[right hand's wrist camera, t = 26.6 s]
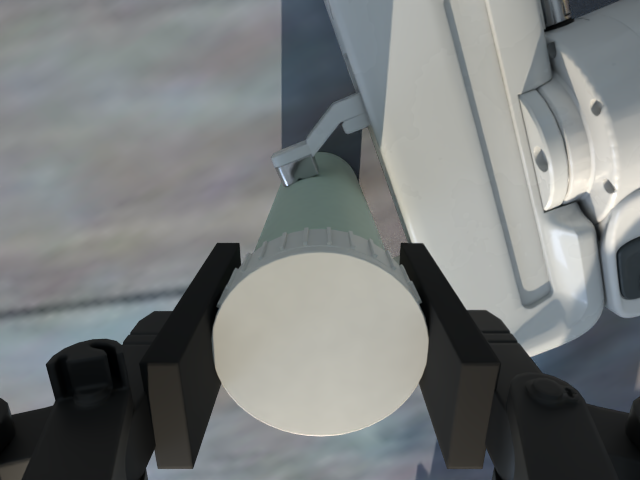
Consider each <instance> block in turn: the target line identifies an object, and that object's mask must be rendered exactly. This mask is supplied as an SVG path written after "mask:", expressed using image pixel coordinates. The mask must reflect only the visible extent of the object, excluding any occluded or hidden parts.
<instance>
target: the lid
mask: <svg viewBox="0 0 640 480" xmlns="http://www.w3.org/2000/svg"><path fill="white" fill-rule="evenodd" d="M420 303H422V301H421V299H420V297H419V295H418V292H417V290H416V288H415V286H414V284H413V282H412V281H410V279H409V277H408V275H407V273H406V271H405V268H404V266H403V265H402V264H401V265H400V266H399V265H398V263H397V262H396V261H395V260H394V259H393V258H392V255H391V253H390V251H388V250H386V251H384V250H383V249H382V248H380V247H379V246H377V245H376V244H374V242H373V240H372V239H370V238H369V240H366V239H364V238H362V237H360V236H357V235H354V234H353V231H349V232H343V231H338V230H331V227H327V229H309V228H308V227H306V228H304V230H302V231H297V232H292V233H289V234H287V232H284V233H283V234H282V236H280V237H278V238H276V239H274V240H272V241H269V242H267V241H265V242H263V244H262V247H260V248H258V249H257V250H256V251H255V252H254V253H252V254H250V253H248V254H247V256H246V258H245V260H244V262H243V264H242V265H241V266H240V267H239V269H237V268H235V269H234V271H233V273H232V276H231V278H230V280H229V282H228V284H227V285H226V287H225V289H224V291H223V293H222V295H221V297H220V299H219V302H218V304H217V306H216V307H218V308H219V309H218V312H217V314H216V317H215V320H214V324H213V328H212V335H211V341H212V351H213V360H214V366H215V369H216V372H217V375H218V377H219V379H220V381H221V383H222V385H223V386H224V388H225V389H226V391H227V392H228V394H229V395H230V396H231V397H232V398H233V399H234V401H235V402H236V403H237V404H238V405H239V406H240V407H242V408H243V409H244V410H245V411H246V412H247V413H249V414H250V415H252V416H253V417H255V418H256V419H258V420H260V421H262V422H264V423H265V424H267V425H269V426H272V427H275V428H277V429H280V430H283V431H287V432H290V433H294V434H301V435H308V436H333V435H339V434H346V433H350V432H354V431H357V430H360V429H363V428H366V427H368V426H371V425H373V424H375V423H377V422H379V421H381V420H382V419H384V418H385V417H387V416H388V415H390V414H391V413H393V412H394V411H395V410H396V409H397V408H399V407H400V406H401V405H402V404H403V403H404V402H405V401H406V400H407V399H408V397H409V396H410V395H411V394H412V392H413V391H414V389H415V388H416V387H417V385H418V383H419V381H420V379H421V377H422V375H423V372H424V369H425V366H426V362H427V354H428V344H429V334H428V327H427V323H426V318H425V316H424V313H423V311H422V309H421V307H420V305H419V304H420Z"/></svg>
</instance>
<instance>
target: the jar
mask: <svg viewBox="0 0 640 480" xmlns="http://www.w3.org/2000/svg"><path fill="white" fill-rule="evenodd" d="M314 156H315V159H316V162H317V164H318V167H319V170H318V171H319V173H318V175H315V176H313V177H310V178H306V179H301V178H299V179H298V181H297V182H296V183H294V184H292V185H290V186H286V187H284V186H283V184H282V182H281V185H280V187H279V190H278V193H277V195H276V198H275V200H274V203H273V205H272V208H271V210H270V213H269V215H268V218H267V220H266V223H265V225H264V228H263V231H262V233H261V236H260V238H259V241H258V243H257V246H256V248H255V251H256V250H257V249H258V248H260V247H262V244H263V242H265V241H267V242H269V241H272V240H274V239H276V238H278V237H280V236H282V234H283V233H284V232H287V234H289V233H292V232H297V231H302V230H304V228H306V227H308V228H309V229H327V227H331V230H338V231H343V232H349V231H353V234H354V235H357V236H360V237H362V238H364V239H366V240H369V238H370V239H372V240H373V242H374V244H376V245H377V246H379V247H380V248H382V249H383V250H384V251H385V248H384V245H383V243H382V240H381V238H380V235H379V233H378V230H377V228H376V225H375V223H374V220H373V218H372V215H371V213H370V210H369V208H368V205H367V203H366V200H365V197H364V195H363V192H362V190H361V187H360V185H359V182H358V180H357V177H356V175H355V173H354V171H353V169H352V168H351V167H350V165H349V164H348V163H347V162H346V161H345V160H343V159H342V158H340V157H338V156H336V155H334V154H331V153H327V152H317V153H316V154H315V155H314ZM255 251H254V252H255Z"/></svg>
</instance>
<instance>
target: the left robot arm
mask: <svg viewBox="0 0 640 480" xmlns="http://www.w3.org/2000/svg"><path fill="white" fill-rule="evenodd" d="M324 3H325V6H326V9H327V12H328V15H329V17H330V20H331V23H332V26H333V29H334V32H335V35H336V38H337V40H338V43H339V46H340V49H341V52H342V55H343V58H344V61H345V63H346V66H347V69H348V72H349V75H350V78H351V81H352V84H353V86H354V89H355V92H356V93H354V94H352V95H350V96H347V97H345V98H343V99H340V100H338V101H336V102H333V103H332V104H331V105H330V107H329V108H328V109H327V111H326V112H325V113H324V115H323V116H322V117H321V119H320V120H319V121H318V122H317V124H316V125H315V126H314V128H313V129H312V130H311V132H310V133H309V134H308V136H307V138H306V140H304V141H301V142H299V143H296V144H294V145H291V146H289V147H287V148H284V149H282V150H280V151H278V152H276V153H274V154H273V155H272V156H271V160H272V162H273V165H274V167H275V169H276V171H277V173H278V175H279V178H280V180H281V182H282V184H283V186H284V187H286V186H290V185H292V184H294V183H296V182H297V181H298V179H299V178H301V179H306V178H310V177H313V176H315V175H318V173H319V171H318V170H319V167H318V164H317V162H316V159H315V156H314V155H315V154H316V153H317V151H318V150H319V149H320V148H321V146H322V145H323V144H324V143H325V141H326V140H327V139H328V138H329V136H330V135H331V134H332V133H333V131H334V130H335V129H336V127H337V126H338V125H339V124H340V123H341V125H342V128H343V130H344V132H345V133H347V134H350V133H353V132H356V131H358V130H361V129H363V128H366V127H368V130H369V132H370V135H371V138H372V141H373V144H374V147H375V150H376V153H377V156H378V158H379V161H380V164H381V167H382V170H383V173H384V176H385V179H386V181H387V184H388V187H389V190H390V193H391V196H392V199H393V202H394V204H395V207H396V210H397V213H398V216H399V219H400V222H401V225H402V227H403V230H404V233H405V236H406V239H407V242H408V243H423V244H424V245H425V247H426V248H427V250H428V251H429V253H430V254H431V256H432V257H433V259H434V260H435V262H436V264H437V265H438V267H439V268H440V270H441V271H442V273H443V274H444V276H445V277H446V279H447V280H448V282H449V284H450V285H451V287H452V288H453V290H454V291H455V293H456V294H457V296H458V297H459V299H460V300H461V302H462V303H463V305H464V307H465V308H466V310H487V311H489V312H490V313H492V314H493V315H495V316H496V317H498V318H499V319H501V320H502V321H503V323H504V324H505V325H506V327H507V328H508V329H509V330H510V334H513V336H514V337H515V338H516V339H517V342H518V343H520V345H521V346H522V347H523V349H524V350H525V351H526V352H527V354H528V355H529V356H530V357H532V356H535V355H537V354H540V353H543V352H546V351H548V350H551V349H553V348H556V347H558V346H561V345H563V344H566V343H568V342H570V341H572V340H574V339H576V338H578V337H580V336H581V335H583V334H584V333H586V332H587V331H588V330H590V329H591V328H592V327H593V326H594V325H595V323H596V322H597V321H598V319H599V318H600V316H601V314H602V311H603V308H604V307H606V308H607V309H609V310H610V311H612V312H613V313H615V314H617V315H618V316H620V317H623V318H632V317H637V316H640V0H619V1H617V2H615V3H612V4H610V5H607V6H605V7H603V8H600V9H598V10H595V11H593V12H590V13H588V14H586V15H583V16H580V17H578V18H575V19H572V18H571V13H570V7H569V1H568V0H324ZM393 259H394V260H395V261H396V262H397V263H398V265H399V262H400V256H397V257H395V258H393Z"/></svg>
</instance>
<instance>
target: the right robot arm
mask: <svg viewBox="0 0 640 480" xmlns="http://www.w3.org/2000/svg"><path fill="white" fill-rule="evenodd" d="M401 264H402V265H403V266H404V268H405V271H406V273H407V275H408V277H409V279H410V281H412V282H413V284H414V286H415V288H416V290H417V292H418V295H419V297H420V299H421V301H422V303H420V304H419V305H420V307H421V309H422V311H423V313H424V316H425V318H426V323H427V327H428V334H429V344H428V354H427V362H426V366H425V369H424V372H423V375H422V377H421V379H420V381H419V385H420V388H421V391H422V394H423V397H424V400H425V403H426V406H427V409H428V412H429V415H430V418H431V421H432V424H433V427H434V430H435V433H436V436H437V439H438V442H439V445H440V448H441V451H442V454H443V457H444V460H445V463H446V466H447V469H482V468H483V462H484V457H485V451H486V449H487V451H488V453H489V455H490V458H491V460H492V462H493V464H494V471H493V477H492V480H640V397H638V398H637V399H636V400H634V401H633V404H632V407H631V410H630V413H626V412H621V411H616V410H612V409H607V408H602V407H597V406H594V405H590V404H586V402H585V400H584V399H583V397H582V396H581V394H580V393H579V392H578V391H577V390H576V389H575V388H573V387H572V386H571V385H570V384H568V383H567V382H565V381H563V380H560V379H558V378H556V377H554V376H551V375H547V374H543V373H542V372H541V371H540V369H539V368H538V367H537V365H536V364H535V363H534V362H533V360H532V359H531V358H530V356H529V355H528V354H527V352H526V351H525V350H524V349H523V347H522V346H521V345H520V343H518V342H517V339H516V338H515V337H514V336H513V334H510V330H509V329H508V328H507V327H506V325H505V324H504V323H503V321H502V320H501V319H499V318H498V317H496V316H495V315H493V314H492V313H490V312H489V311H487V310H466V308H465V307H464V305H463V303H462V302H461V300H460V299H459V297H458V296H457V294H456V293H455V291H454V290H453V288H452V287H451V285H450V284H449V282H448V280H447V279H446V277H445V276H444V274H443V273H442V271H441V270H440V268H439V267H438V265H437V264H436V262H435V260H434V259H433V257H432V256H431V254H430V253H429V251H428V250H427V248H426V247H425V245H424V244H423V243H401V248H400V262H399V266H400V265H401ZM240 266H241V259H240V245H239V243H217V244H216V246H215V247H214V249H213V250H212V252H211V253H210V255H209V256H208V258H207V259H206V261H205V262H204V264H203V265H202V267H201V269H200V270H199V272H198V273H197V275H196V276H195V278H194V279H193V281H192V282H191V284H190V285H189V287H188V289H187V290H186V292H185V293H184V295H183V296H182V298H181V299H180V301H179V302H178V304H177V305H176V307H175V309H174V310H173V311H154V312H152V313H151V314H149V315H148V316H146V317H145V318H143V319H142V320H140V321H139V322H138V323H137V325H136V326H135V327H134V329H133V330H132V331H131V333H130V335H128V336H127V338H126V339H125V340H124V342H123V345H121V344H119V343H118V342H117V341H114V340H109V339H92V340H88V341H84V342H79V343H76V344H74V345H72V346H69V347H67V348H64V349H63V350H61V351H60V352H58V353H57V354H55V355H54V356H53V357H52V358H51V359H50V360H49V361H48V363H47V364H46V367H47V371H48V375H49V378H50V382H51V386H52V389H53V393H54V397H55V400H56V401H55V403H54V405H53V406H50V407H46V408H42V409H37V410H32V411H28V412H23V413H19V414H14V415H11V412H10V409H9V406H8V403H7V402H5V401H4V400H3V399H1V398H0V480H148V477H147V471H146V467H147V465H148V462H149V460H150V458H151V456H152V454H153V451H154V450H155V455H156V461H157V467H158V469H193V467H194V464H195V461H196V458H197V455H198V452H199V449H200V446H201V443H202V440H203V437H204V434H205V431H206V428H207V425H208V422H209V419H210V416H211V413H212V410H213V407H214V404H215V401H216V398H217V395H218V392H219V389H220V386H221V381H220V379H219V377H218V375H217V372H216V369H215V366H214V360H213V351H212V341H211V335H212V328H213V324H214V320H215V317H216V314H217V312H218V309H219V308H218V307H216V306H217V304H218V302H219V299H220V297H221V295H222V293H223V291H224V289H225V287H226V285H227V284H228V282H229V280H230V278H231V276H232V273H233V271H234V269H235V268H237V269H239V267H240Z"/></svg>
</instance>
